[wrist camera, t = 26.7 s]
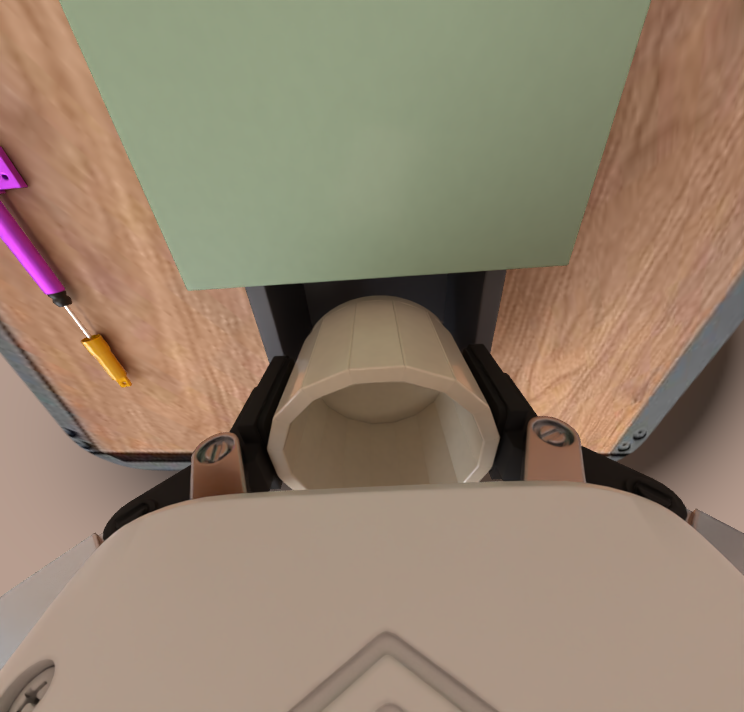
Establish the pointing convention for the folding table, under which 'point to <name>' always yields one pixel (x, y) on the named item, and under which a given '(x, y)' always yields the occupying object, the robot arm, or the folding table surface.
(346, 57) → the mini drawer cabinet
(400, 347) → the ramekin
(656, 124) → the folding table surface
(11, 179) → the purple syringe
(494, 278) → the dark grey drawer
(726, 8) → the folding table surface
